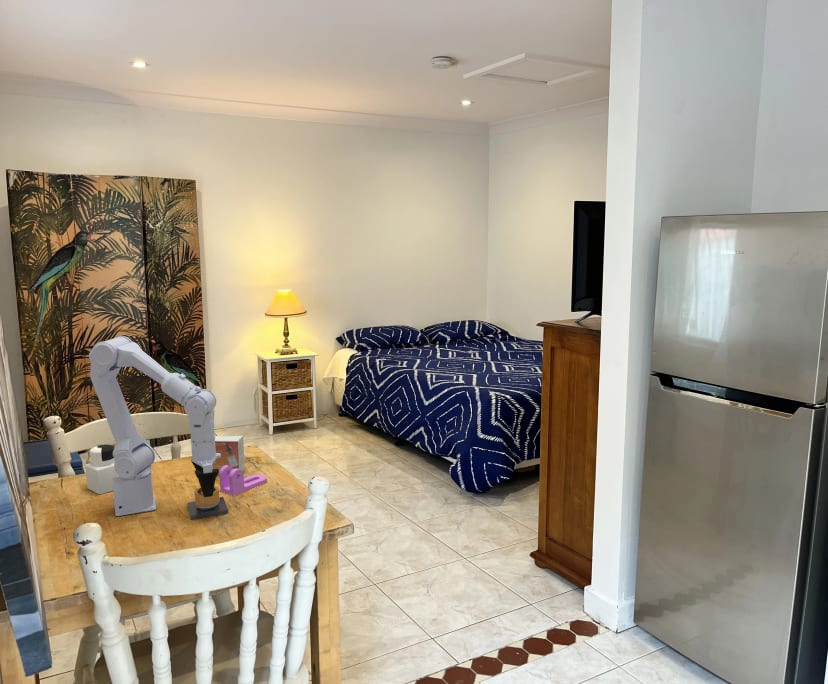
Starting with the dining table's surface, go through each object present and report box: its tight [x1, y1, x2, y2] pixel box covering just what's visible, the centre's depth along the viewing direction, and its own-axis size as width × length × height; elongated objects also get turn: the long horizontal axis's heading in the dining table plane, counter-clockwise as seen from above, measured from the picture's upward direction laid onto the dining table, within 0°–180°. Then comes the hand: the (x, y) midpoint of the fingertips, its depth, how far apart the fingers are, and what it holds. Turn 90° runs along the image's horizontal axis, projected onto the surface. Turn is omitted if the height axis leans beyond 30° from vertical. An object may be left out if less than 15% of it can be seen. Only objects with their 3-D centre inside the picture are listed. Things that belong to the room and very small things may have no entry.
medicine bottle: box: [84, 444, 119, 495], centre depth 185 cm, size 7×7×12 cm
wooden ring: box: [194, 485, 220, 506], centre depth 171 cm, size 6×6×3 cm
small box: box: [212, 435, 246, 476], centre depth 197 cm, size 8×6×10 cm
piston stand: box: [186, 491, 229, 521], centre depth 171 cm, size 9×9×6 cm
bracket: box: [218, 465, 268, 497], centre depth 186 cm, size 13×6×7 cm, turn 143°
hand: (206, 490), depth 171 cm, fingers open, 7 cm apart
